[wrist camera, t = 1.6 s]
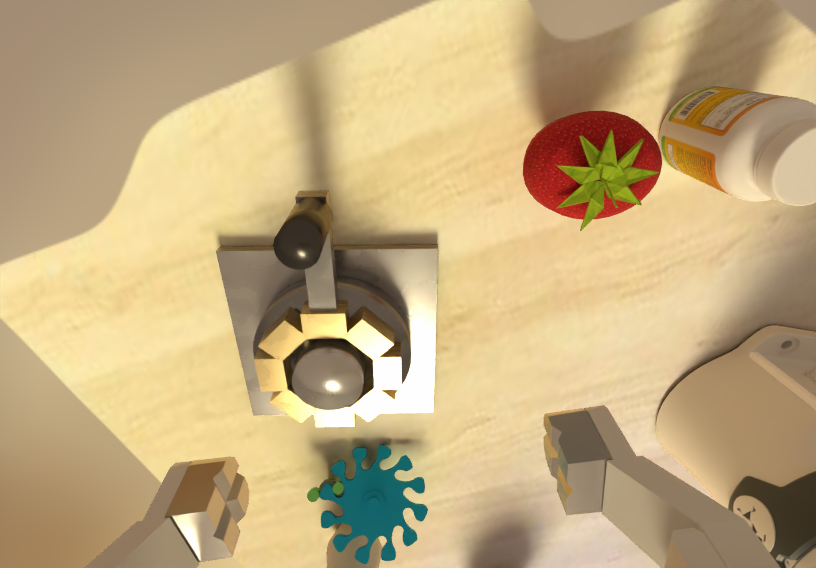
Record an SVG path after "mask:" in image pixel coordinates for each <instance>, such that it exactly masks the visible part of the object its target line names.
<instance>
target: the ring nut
mask: <svg viewBox="0 0 816 568" xmlns="http://www.w3.org/2000/svg"><path fill="white" fill-rule="evenodd" d="M295 198H296V205H295V206H294V208H293V210H292V211H291V213H290V214H289V216H288V218H287V219H286V221H285V223H284V224H283V226H282V227H281V229H280V231H279V232H278V234H277V236H276V237H275V240H274V244H273V247H274V252H275V255H276V257H277V258H278V260H279V261H280V262H281V263H282V264H284V265H285V266H287V267H289V268H292V269H296V270H304V269H305V276H306V284H307V292H308V300H309V301H305V302H304V305H303V308H302V311H301V314H300V313H298V312H297V311H296V310H294V309H293V308H292V307H289V308H288V309H287V310H286V311H285V312H284V313H283V314H282V315H281V316H280V317H279V318H278V319H277V320H276V321H275V322H274V323H273V324H272V325H271V326H270V327H269V328H268V329H267V330H266V331H265V332H264V334H263V336H262V339H261V341H260V343H259V345H258V347H259V349H258V351H257V354H256V356H255V358H254V362H255V367H256V371H257V376H258V381H259V386H260V390H261V392H272V391H273V394H272V397H271V400H270V402H269V403H270V404H272V405H273V406H275V407H277V408H278V409H280V410H281V411H283V412H284V413H286V414H288V415H289V416H291V417H292V418H294V419H295V420H297V421H299V422H300V423H302V422H303V421H304V420H305V419H306V418H308V417H309V416H310V415H311V414H312V413H313V412H314V416H315V423H316V427H349V426H355V418H356V414H358V415H359V416H361V417H362V418H364V419H365V420H367V421H368V422H369V421H370V420H372V419H373V418H374V417H375V416H377V415H378V414H379V413H381V412H382V411H383V410H384V409H386V408H387V407H388V406H389V405H391V404H392V403H393V402H395V401H396V389H401V342H394V329H393V328H392V327H390V326H389V325H388V324H387V323H385V322H384V321H383V320H382V319H380V318H379V317H378V316H377V315H375V314H374V313H373V312H372V311H370V310H369V309H368V308H367V307H365V306H363V307H362V308H361V309H360V310H358V311H357V312H356V313H355V314H354V315H353V316H352V317H351V318H350V319H349V309H348V300H339V299H338V288H337V277H336V266H335V255H334V244H333V233H332V221H333V214H332V211H331V208H330V199H329V191H299V192H298V194H297V195H296V197H295ZM328 338H345V339H346V340H348V341H349V342H350V343H352V344H353V345H354V346H356V347H357V348H358V349H360V350H361V351H362V352H364V353H365V354H366V355H368V356H369V357H370V358H372V359H373V370H374V374H373V375H371V376H370V377H369V378H368V379H367V380H365V381H364V383H363V390H362V393H361V395H360V397H359V398H358V399H357V400H356V401H355V402H354V403H353V404H351V405H350V406H348V407H345V408H342V409H338V410H321V409H317V408H314V407H312V406H309V405H308V404H306V403H304V402H303V401H302V400H301V399H300V398H299V397H298V396H297V395H296V393H295V392H294V389H293V386H292V376H293V373H292V367H291V360H290V354H291V353H292V352H293V351H294V350H295V349H296V348H297V347H298V346H299V345H300V344H301V343H302V342H303V341H304V340H306V339H328Z"/></svg>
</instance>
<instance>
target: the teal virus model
mask: <svg viewBox="0 0 816 568" xmlns="http://www.w3.org/2000/svg"><path fill="white" fill-rule="evenodd" d="M366 455H367V450H366V448H355V449H354V450H353V457H354V459H355V462H356V473H355V477H354V478H353V479H347V478H346V477H345V470H346V464H345V462H344V461H343V460H341V461H339V462H337V463H336V464H334V465H333V466H332V467H331V471H332V473H333V474H335V475H336V476H338V477H339V478H340V480H341V481H336V480H331V479H327V480H325V481H324V482H323V483H322V484H321V485H320V488H317V487H314V488H312V489H311V490H310V491H309V492H308V494H307V498H308V500H309V501H311V502H315V501H316V500H317V499H318V498H319V497H320V498H321V499H323V500H331V501H334V502H336V503H337V504H338V505H340V506H341V507H342V509H343V515H342V516H340V517H337V516H335V515H334V514H333V513H332V512H331V511H328V510H327V511H324V512H323V513H322V516H321V527H323V528H328V527H330V526H332V525H334V524H338V523H342V524H347V525H350V526H351V528H352V532H351V533H350V534H349V535H344V534H337V535H336V536H335V537H334V539H333V544H334V547H335V548H336V550H337V551H338V552H342V551H344V549H345V548H346V546H347V545H348V543H349V542H350V541H351V540H353V539H354V538H356V537H359V536H362V535H364V536H366V537H367V539H368V543H367V544H366V545H364V546H362V547H359V548H358V549H357V551H356V553H355V559H356V560H357V561H359V562H360V563H362V564H367V563H368V561H369V558H370V549H371V546H372V544H373V543H374V541H375V540H376V539H377V538H378V537H379V536H384V537H386V539H387V543H386V544H385V545H384V547H383V548H382V550H381V558H382V560H384V561H391V560H395V557H396V552H395V548H394V546H393V544H392V532H393V529H394V527H395V526H397V525H399V526H402V527H403V529H404V532H403V542H404V544H405V545H406V546H410V545H411V544H413V543H414V542H415V541H416V540H417V534H416V532H415V531H414V530H413V529H411V528H410V527H409V526H408V525H407V524H406V522H405V520H404V517H403V510H404V509H405V508H411V509H412V510H413V512H414V515H415V518H416V519H417V520H419V521H423V520H424V518H425V517H426V514H427V511H428V509H427V507H426V506H425V505H424V504H415V503H413V502H411V501H409V500H408V499H407V498H406V497H405V496H404V495H403V491H404V489H405V488H407V487H410V488H412V489H413V490H414V491H415V492H417V493H423V492H424V490H425V484H424V479H423V478H422V477H417V478H415V479H414V480H412V481H406V482H405V481H399V480H397V479H396V478H395V476H394V474H395V472H396V471H397V470H404V471H408V470H410V469H411V468H412V467H413V466H412V463H411V461H410V459H409V458H408V457H407V455H404V456H402V457H401V458H400V460H399V462H398V463H397V464H396V465H395V466H394V467H392V468H390V469H388V470H381V469H380V467H379V463H380V461H381V460H384V459H387V458H388V457H389V456H390V455H391V450H390V449H389V448H388V447H386V446H384V445H380V446H379V447H378V450H377V459H376V461H375V463H374V464H373V465H372V467H371V468H370V469H368V470H364V469H363V468H362V467H361V462H362V460H363V459H364V458H365V457H366Z"/></svg>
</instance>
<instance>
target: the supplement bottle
mask: <svg viewBox="0 0 816 568" xmlns="http://www.w3.org/2000/svg"><path fill="white" fill-rule="evenodd" d="M659 148H660V151H661V155H662V157H663V159H664V160H665V162H666V163H667V164H668V165H670V166H671V167H672V168H674V169H676V170H678V171H680V172H682V173H684V174H686V175H689V176H691V177H693V178H695V179H697V180H699V181H701V182H703V183H706V184H708V185H710V186H712V187H714V188H716V189H718V190H720V191H722V192H724V193H727V194H729V195H731V196H733V197H736V198H739V199H741V200H745V201H752V202H760V201H767V200H772V199H774V200H777V201H780V202H782V203H785V204H788V205H792V206H805V205H810V204H813V203H816V105H815V104H813V103H811V102H809V101H806V100H802V99H798V98H793V97H785V96H778V95H771V94H764V93H758V92H751V91H744V90H738V89H731V88H724V87H706V88H702V89H698V90H696V91H693V92H691V93H689V94H688V95H686V96H684V97H683V98H682V99H680V100H679V101H678V102H677V103H676V104H675V105H674V106H673V107H672V108H671V109H670V111H669V112H668V113H667V115H666V117H665V118H664V120H663V123H662V125H661V128H660V132H659Z"/></svg>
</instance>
